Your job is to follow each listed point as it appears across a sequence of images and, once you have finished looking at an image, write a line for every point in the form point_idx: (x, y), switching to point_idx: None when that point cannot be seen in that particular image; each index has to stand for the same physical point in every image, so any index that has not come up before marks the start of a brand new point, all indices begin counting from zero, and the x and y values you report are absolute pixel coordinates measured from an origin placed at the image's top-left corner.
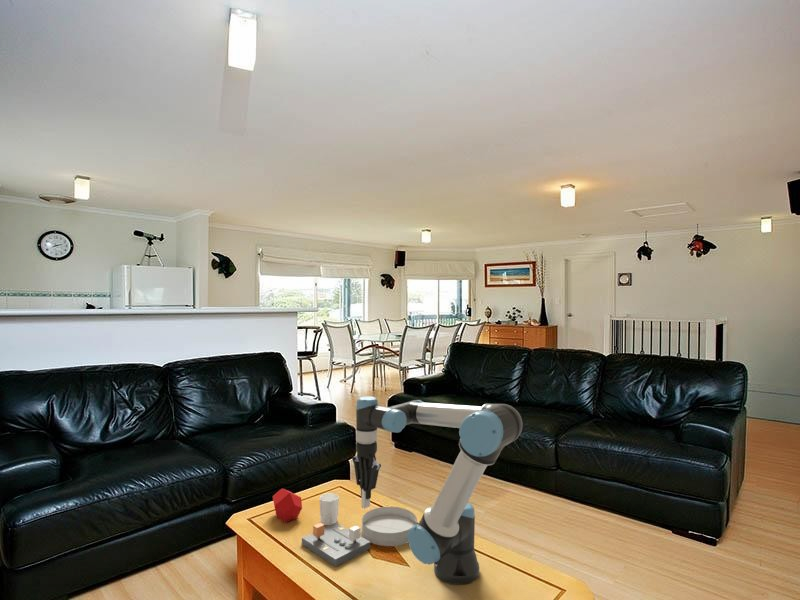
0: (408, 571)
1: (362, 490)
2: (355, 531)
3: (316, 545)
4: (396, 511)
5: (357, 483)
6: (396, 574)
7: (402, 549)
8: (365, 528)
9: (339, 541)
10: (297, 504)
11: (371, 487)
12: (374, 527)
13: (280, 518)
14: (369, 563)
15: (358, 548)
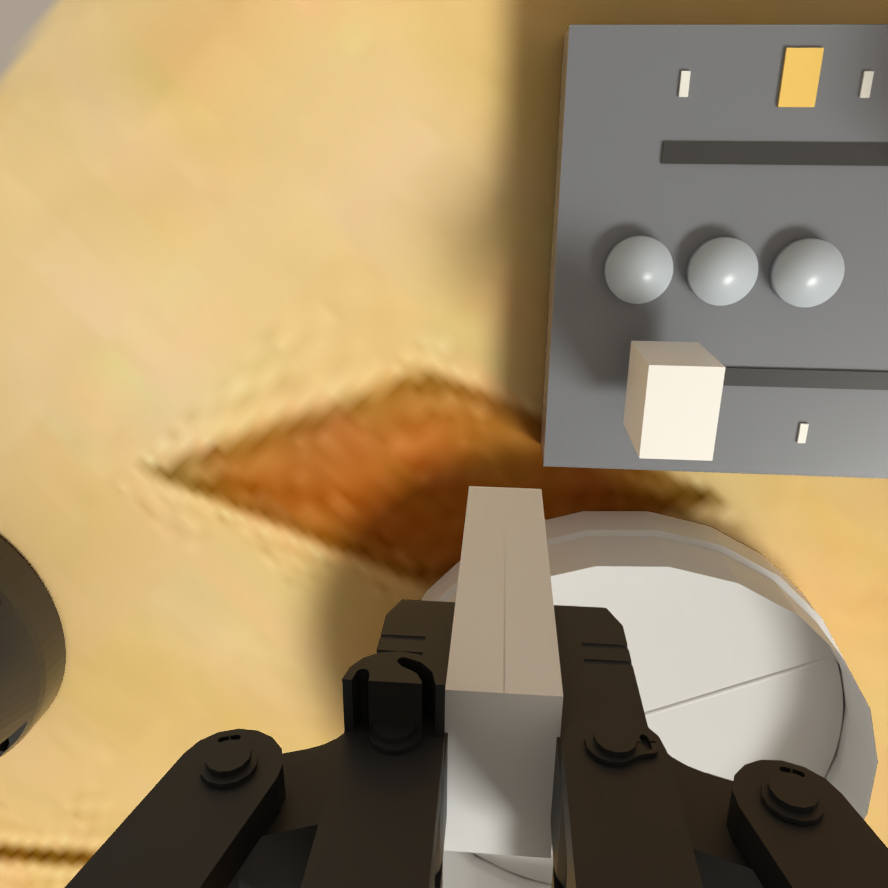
0: (108, 419)
1: (529, 676)
2: (643, 387)
3: None
4: None
5: (787, 789)
6: (132, 332)
7: (348, 592)
8: (703, 565)
9: (771, 271)
10: None
11: (154, 816)
12: (713, 663)
13: None
14: (384, 291)
15: (551, 327)
